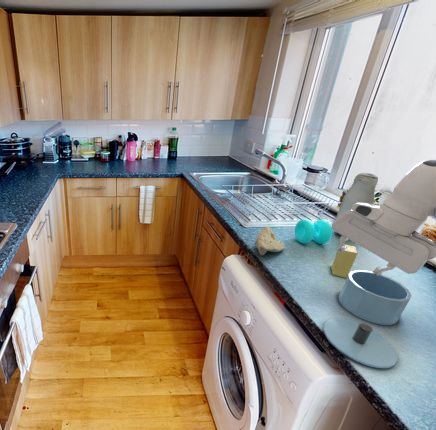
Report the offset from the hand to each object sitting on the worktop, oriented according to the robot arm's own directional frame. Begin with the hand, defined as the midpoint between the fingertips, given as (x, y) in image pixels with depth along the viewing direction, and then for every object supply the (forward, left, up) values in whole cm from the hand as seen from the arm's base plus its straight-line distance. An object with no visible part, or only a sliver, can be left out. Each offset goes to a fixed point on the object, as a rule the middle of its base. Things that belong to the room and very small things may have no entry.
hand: (357, 262), depth 79 cm
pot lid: (-2, +15, -15) cm, 21 cm away
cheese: (+21, -20, -16) cm, 33 cm away
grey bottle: (-8, -56, -16) cm, 59 cm away
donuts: (+6, -40, -16) cm, 43 cm away
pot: (-7, -3, -15) cm, 17 cm away
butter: (-2, -20, -15) cm, 25 cm away
